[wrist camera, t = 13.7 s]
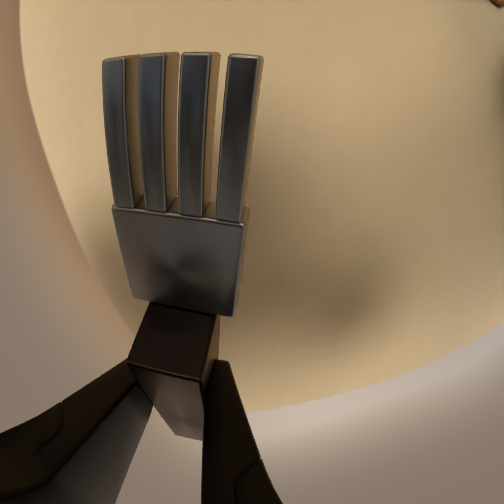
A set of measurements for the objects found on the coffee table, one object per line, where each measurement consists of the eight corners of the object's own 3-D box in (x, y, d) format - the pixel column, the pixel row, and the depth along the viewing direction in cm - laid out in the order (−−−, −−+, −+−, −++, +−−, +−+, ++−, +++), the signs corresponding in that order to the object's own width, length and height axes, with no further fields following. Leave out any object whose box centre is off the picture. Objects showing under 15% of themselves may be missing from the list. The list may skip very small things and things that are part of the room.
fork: (225, 401, 12) (218, 443, 10) (176, 391, 12) (165, 432, 10) (272, 57, 3) (258, 58, 1) (117, 56, 3) (10, 85, 1)
